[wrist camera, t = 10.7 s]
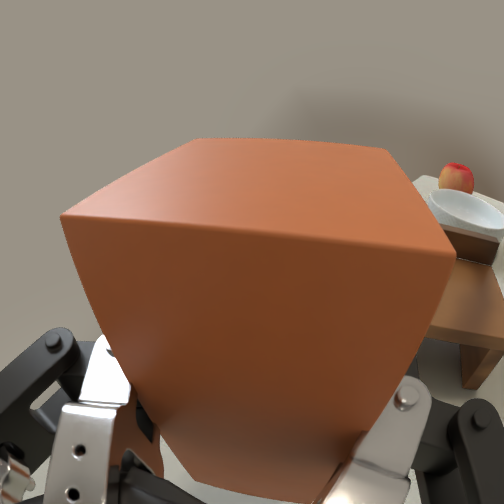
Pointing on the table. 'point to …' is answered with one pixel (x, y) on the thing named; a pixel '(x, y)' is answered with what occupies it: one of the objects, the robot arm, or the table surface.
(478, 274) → the shelf
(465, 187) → the apple
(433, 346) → the table surface
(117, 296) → the carton
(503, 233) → the cereal bowl
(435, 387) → the table surface
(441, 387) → the table surface
